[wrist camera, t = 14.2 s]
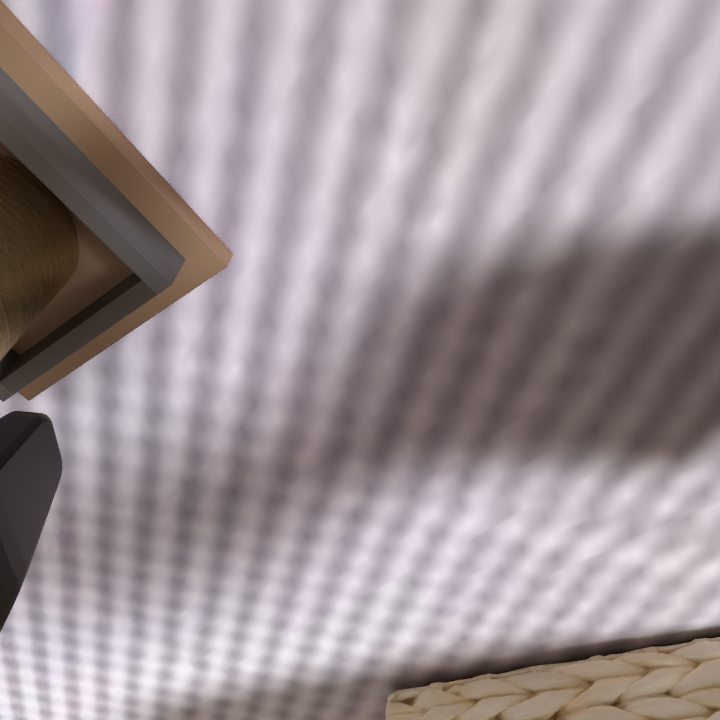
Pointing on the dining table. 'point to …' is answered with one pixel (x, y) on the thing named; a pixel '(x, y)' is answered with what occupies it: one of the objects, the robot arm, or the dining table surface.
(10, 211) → the billet
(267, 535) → the dining table surface
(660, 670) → the storage basket
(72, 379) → the dining table surface
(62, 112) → the square brown tray
